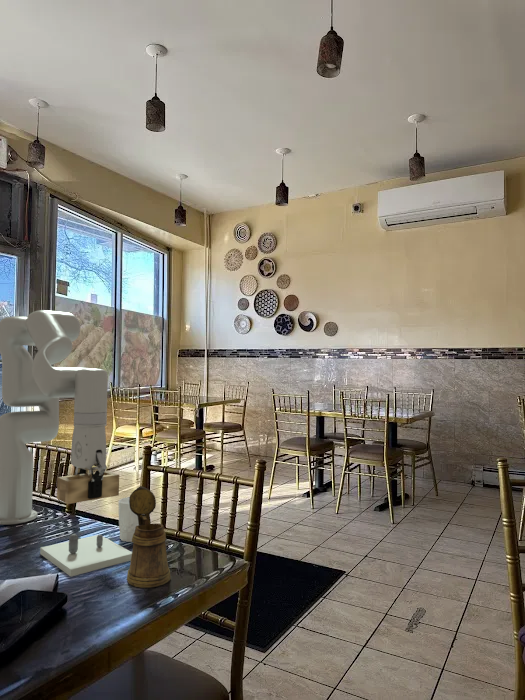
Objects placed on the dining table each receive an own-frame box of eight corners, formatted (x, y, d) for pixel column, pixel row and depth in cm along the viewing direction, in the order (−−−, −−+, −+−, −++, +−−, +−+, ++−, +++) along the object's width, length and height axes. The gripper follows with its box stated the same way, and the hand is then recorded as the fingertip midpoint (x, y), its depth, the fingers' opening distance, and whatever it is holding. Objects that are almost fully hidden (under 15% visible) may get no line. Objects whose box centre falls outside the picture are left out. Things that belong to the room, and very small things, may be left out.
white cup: (130, 545, 128) (131, 505, 129) (111, 538, 133) (112, 500, 133) (154, 537, 134) (155, 499, 135) (135, 531, 139) (136, 494, 140)
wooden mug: (157, 561, 117) (159, 483, 118) (175, 583, 105) (177, 496, 106) (119, 567, 113) (121, 487, 114) (132, 591, 101) (135, 501, 102)
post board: (40, 553, 121) (41, 528, 121) (99, 540, 131) (99, 517, 132) (70, 576, 108) (71, 548, 108) (133, 559, 118) (134, 533, 119)
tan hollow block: (67, 504, 114) (68, 481, 114) (56, 498, 118) (57, 477, 119) (118, 495, 122) (119, 474, 123) (106, 490, 127) (107, 470, 127)
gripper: (60, 417, 125) (58, 490, 124) (91, 423, 112) (88, 504, 111) (89, 416, 130) (87, 486, 129) (122, 421, 117) (120, 499, 117)
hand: (88, 494), depth 120 cm, fingers closed on tan hollow block, 6 cm apart
